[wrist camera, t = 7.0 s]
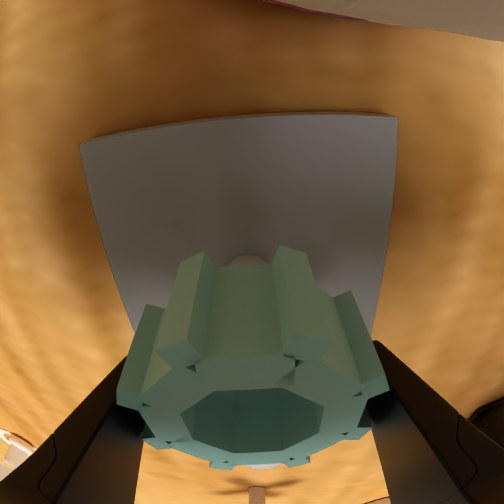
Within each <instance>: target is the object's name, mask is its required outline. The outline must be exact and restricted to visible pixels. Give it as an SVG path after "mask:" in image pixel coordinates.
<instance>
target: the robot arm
mask: <svg viewBox="0 0 504 504" xmlns="http://www.w3.org/2000/svg"><path fill="white" fill-rule="evenodd" d="M372 342H373V344H374V347H375V349H376V352H377V354H378V357H379V360H380V362H381V365H382V367H383V370H384V373H385V375H386V379H387V382H388V386H389V391H386V392H384V393H382V394H379V395H377V396H374V397H372V398H369V399H368V400H367V402H366V408H367V411H368V414H369V416H370V420H371V423H372V427H373V428H372V433H373V436H374V440H375V444H376V447H377V451H378V455H379V458H380V462H381V466H382V470H383V474H384V477H385V481H386V485H387V489H388V493H389V498H390V502H391V504H504V398H503V399H501V400H499V401H496V402H494V403H492V404H489V405H487V406H485V407H482V408H480V409H478V410H477V411H476V412H475V413H474V415H473V416H472V417H471V418H470V420H469V421H468V420H467V419H466V418H465V417H463V416H462V415H461V414H459V412H458V411H457V410H456V409H455V408H453V407H452V406H451V405H450V404H449V403H448V402H447V401H446V400H445V399H443V398H442V397H441V396H440V395H439V394H438V393H437V392H436V391H435V390H433V389H432V388H431V387H430V386H429V385H428V384H427V383H426V382H424V381H423V380H422V379H421V378H420V377H419V376H418V375H417V374H416V373H414V372H413V371H412V370H411V369H410V368H409V367H408V366H407V365H405V364H404V363H403V362H402V361H401V360H400V359H399V358H397V357H396V356H395V355H394V354H393V353H392V352H391V351H390V350H388V349H387V348H386V347H385V346H384V345H383V344H382V343H380V342H379V341H377V340H374V341H372ZM126 359H127V356H126V357H125V358H124V359H123V360H122V361H121V362H120V363H119V364H118V365H117V366H116V367H115V368H114V369H113V370H112V371H111V372H110V373H109V374H108V375H107V376H106V377H105V378H104V379H103V380H102V382H101V383H100V384H99V385H98V386H97V387H96V388H95V389H94V390H93V391H92V392H91V393H90V394H89V395H88V396H87V397H86V398H85V399H84V400H83V401H82V402H81V404H80V405H79V406H78V407H77V408H76V409H75V410H74V411H73V412H72V413H71V414H70V415H69V416H68V417H67V418H66V419H65V420H64V422H63V423H62V424H61V425H60V426H59V427H58V428H57V429H56V430H55V431H54V434H51V435H50V436H49V437H48V438H47V440H46V441H45V442H44V443H43V444H42V445H41V446H40V447H39V448H38V449H37V450H36V451H35V452H34V453H33V454H32V455H30V456H29V457H28V458H27V459H26V460H25V461H24V462H23V463H22V464H20V465H19V466H18V467H17V468H16V469H15V470H13V471H12V472H11V473H10V474H9V475H8V476H6V477H5V478H4V479H3V480H2V481H0V504H134V501H135V493H136V486H137V480H138V473H139V467H140V460H141V454H142V448H143V442H144V440H142V435H143V430H144V426H145V423H146V422H145V420H144V419H143V417H142V416H141V414H140V412H139V411H138V410H134V409H131V408H127V407H124V406H120V405H117V386H118V383H119V380H120V377H121V374H122V371H123V367H124V364H125V362H126Z"/></svg>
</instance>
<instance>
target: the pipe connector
mask: <svg viewBox="0 0 504 504" xmlns="http://www.w3.org/2000/svg"><path fill="white" fill-rule="evenodd" d="M249 504H265V488H263V487H251V488H249Z"/></svg>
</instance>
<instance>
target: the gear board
mask: <svg viewBox="0 0 504 504" xmlns="http://www.w3.org/2000/svg"><path fill="white" fill-rule="evenodd" d="M397 140H398V117H395V116H391V115H388V114H384V113H366V112H279V113H260V114H246V115H234V116H223V117H213V118H204V119H196V120H188V121H181V122H174V123H168V124H161V125H155V126H149V127H144V128H138V129H133V130H128V131H123V132H118V133H113V134H108V135H104V136H99V137H95V138H92V139H90V140H87V141H85V142H83V143H81V144H79V149H80V154H81V159H82V164H83V168H84V173H85V177H86V182H87V186H88V190H89V194H90V198H91V202H92V206H93V210H94V214H95V217H96V221H97V224H98V228H99V231H100V235H101V238H102V242H103V245H104V248H105V251H106V255H107V258H108V261H109V264H110V267H111V270H112V273H113V276H114V279H115V282H116V285H117V287H118V290H119V293H120V296H121V299H122V301H123V304H124V307H125V309H126V312H127V314H128V317H129V320H130V322H131V325H132V327H133V330H134V332H135V333H136V330H137V327H138V324H139V322H140V319H141V316H142V314H143V311H144V308H145V306H146V303H147V304H150V305H154V306H157V307H161V308H165V307H166V306H167V305H168V302H169V299H170V295H171V292H172V289H173V286H174V282H175V279H176V276H177V273H178V270H179V266H180V263H181V261H184V260H186V259H188V258H190V257H192V256H194V255H196V254H198V253H200V252H203V251H205V252H206V253H207V255H208V256H209V258H210V259H211V261H212V262H213V264H214V265H215V267H223V266H238V265H252V264H267V263H272V262H273V259H274V257H275V255H276V252H277V250H278V248H279V245H281V246H284V247H288V248H291V249H295V250H298V251H301V252H305V253H306V254H307V257H308V260H309V264H310V267H311V270H312V273H313V276H314V279H315V282H316V285H317V286H319V287H320V288H321V289H323V290H324V291H325V292H326V293H328V294H329V295H330V296H332V297H335V296H338V295H340V294H342V293H345V292H347V291H349V290H351V292H352V294H353V297H354V299H355V301H356V304H357V306H358V308H359V311H360V313H361V315H362V318H363V320H364V322H365V325H366V327H367V330H368V332H369V335H370V334H371V330H372V326H373V321H374V317H375V312H376V307H377V302H378V297H379V292H380V287H381V282H382V276H383V270H384V264H385V258H386V252H387V245H388V238H389V231H390V223H391V215H392V206H393V196H394V186H395V173H396V159H397ZM279 465H280V463H275V464H258V465H246V466H247V467H248V468H251V469H259V470H263V469H271V468H274V467H277V466H279Z"/></svg>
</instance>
